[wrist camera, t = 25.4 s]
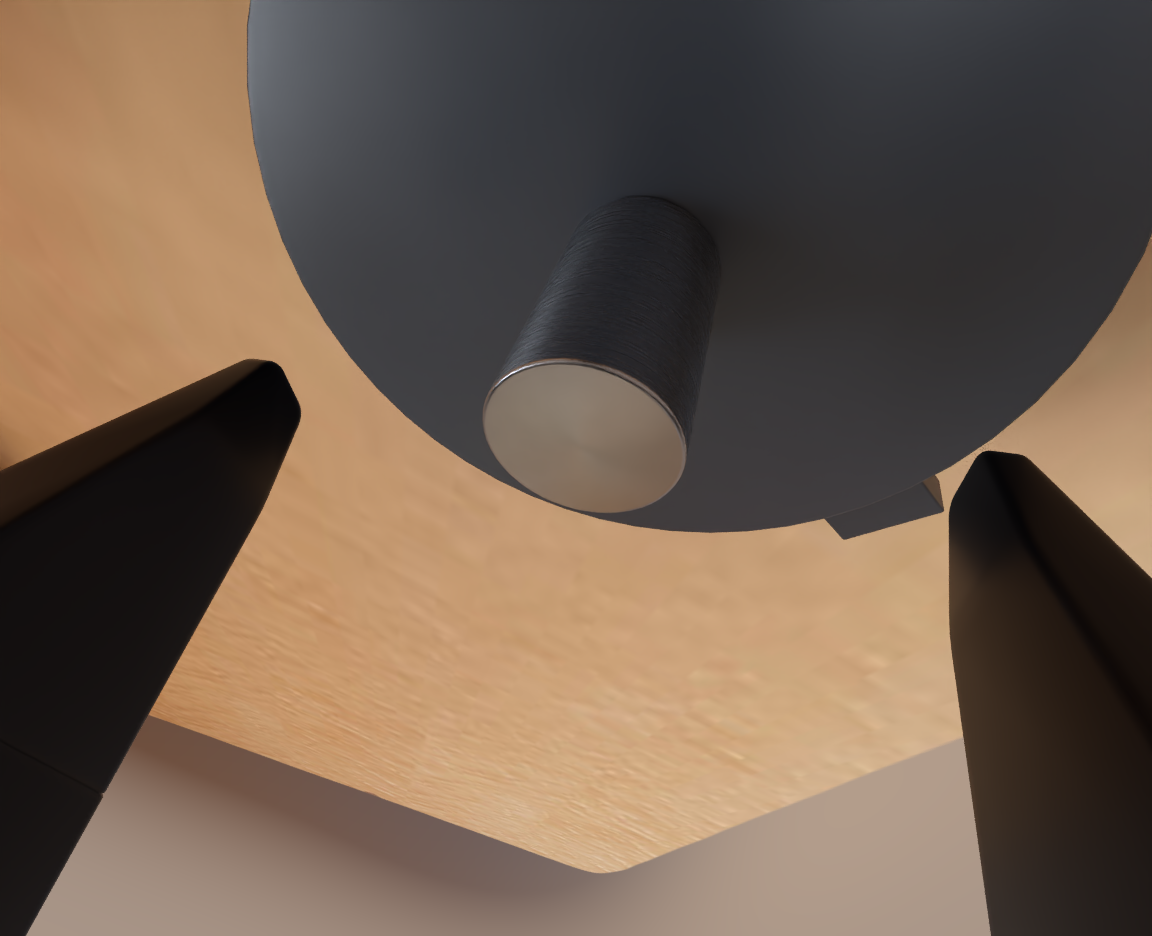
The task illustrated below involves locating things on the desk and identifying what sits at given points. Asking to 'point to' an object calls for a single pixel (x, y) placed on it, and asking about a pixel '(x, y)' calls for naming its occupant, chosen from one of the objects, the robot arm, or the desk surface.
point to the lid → (708, 230)
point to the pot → (891, 510)
